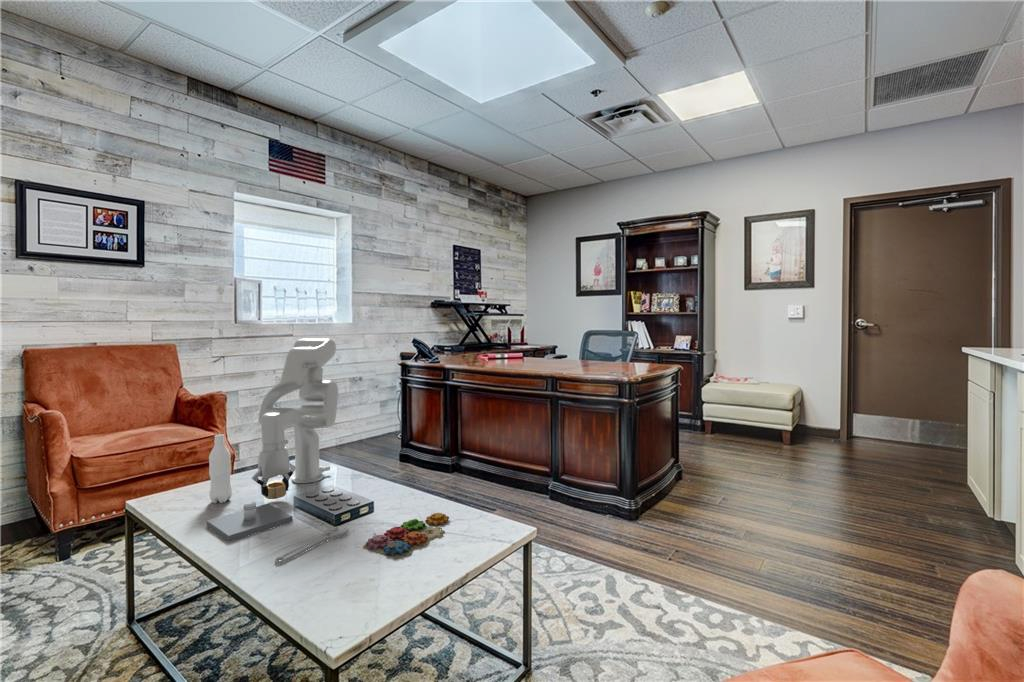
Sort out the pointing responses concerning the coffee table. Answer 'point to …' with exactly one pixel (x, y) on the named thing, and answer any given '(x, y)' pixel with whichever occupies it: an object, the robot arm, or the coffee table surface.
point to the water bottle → (220, 471)
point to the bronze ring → (276, 490)
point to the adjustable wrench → (312, 544)
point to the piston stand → (248, 521)
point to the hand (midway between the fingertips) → (275, 492)
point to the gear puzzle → (407, 536)
